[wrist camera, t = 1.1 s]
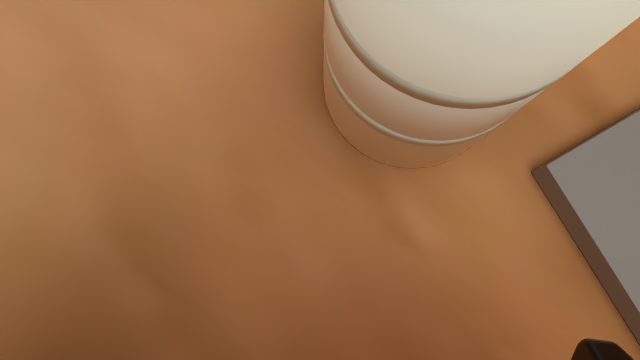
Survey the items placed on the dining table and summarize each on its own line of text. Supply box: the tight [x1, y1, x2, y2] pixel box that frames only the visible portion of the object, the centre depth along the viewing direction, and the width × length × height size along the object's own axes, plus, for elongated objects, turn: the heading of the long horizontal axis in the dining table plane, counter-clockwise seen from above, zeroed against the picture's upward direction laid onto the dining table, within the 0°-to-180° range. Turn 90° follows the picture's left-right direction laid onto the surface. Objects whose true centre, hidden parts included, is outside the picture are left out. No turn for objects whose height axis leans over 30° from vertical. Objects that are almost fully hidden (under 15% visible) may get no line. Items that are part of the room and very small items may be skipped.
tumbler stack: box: [323, 0, 640, 168], centre depth 16 cm, size 6×6×13 cm
